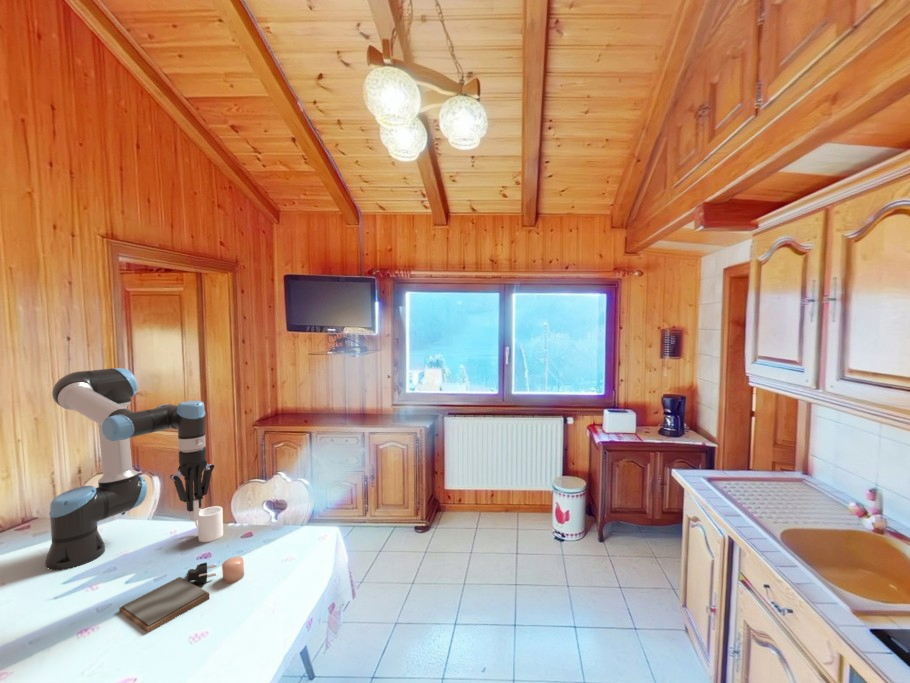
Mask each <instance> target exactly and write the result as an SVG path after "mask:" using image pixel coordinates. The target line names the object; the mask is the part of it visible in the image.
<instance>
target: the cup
mask: <svg viewBox="0 0 910 683" xmlns="http://www.w3.org/2000/svg"><path fill="white" fill-rule="evenodd" d="M223 512H224V511H223V507H222V506H219V505H216V506H215V505H214V506H209V507H205V508H199V520H196V521H194V523H195V527H196V528H197V532H198V535H197V536H198V537H197V538H198V541H199V542H200V543H210V542H211V543H212V542H214V541H216V540H219V539H220V538H222V537H223V536H224V517H223V516H224V513H223Z"/></svg>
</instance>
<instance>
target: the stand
mask: <svg viewBox="0 0 910 683" xmlns="http://www.w3.org/2000/svg"><path fill="white" fill-rule="evenodd" d="M208 600H210V593H209V592H208V591H206V590H204V589H203V588H201V587H199V586H197V585H196V584H194V583H192V582H191V581H190V582H188V579H185V578H184V577H182V576H179V577H176V578H175V579H173V580H170V581H168V582H166V583H165V584H162V585H160V586H158V587H157V588H155V589H152V590H151V591H149V592H147V593H145V594H143V595H141V596H139V597H137V598H135V599H132V600H131V601H129V602H128V603H127V602H126V603H125V604H123V605H122V606H120V607H119V613H120V614H122V615H123V616H125V617H126V618H127V619H129V620H130V621H131V622H132V623H134V624H135V625H136V626H137V627H138V628H140V629H142V630H143V631H144V632H145V633H147V634H149V633H150V632H152V631H155V630H156V629H158V628H160V627H162V626H163V625H165V624H167V623H170V622H171V621H172V620H174V619H176V618H178V617H180V616H181V615H183V614H185V613H187V612H189V611H190V610H192V609H194V608H196V607H197V606H199V605H201V604H203V603H205V602H206V601H208ZM188 610H189V611H188ZM179 615H180V616H179ZM177 616H178V617H177ZM175 617H176V618H175ZM161 625H162V626H161Z"/></svg>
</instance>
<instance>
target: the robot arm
mask: <svg viewBox="0 0 910 683" xmlns="http://www.w3.org/2000/svg"><path fill="white" fill-rule="evenodd" d="M138 388H139V387H138V382H137V379H136V377H135V375H134V374H133V373H132V371H130V370H129V369H127V368H123V367H119V368H117V367H116V368H115V367H112V368H103V369H94V370H82V371H75V372H71V373H68V374H66V375H64V376H63V377H61V378H60V379H59V380H57V381H56V383H55V384H54V385H53V387H52V392H51V393H52V399H53V400H54V402H55V403H56V404H57V405H58V406H60V407H62V408H63V409H65V410H70V411H76V412H77V413H79V414H80V415H82V416H85V417H86V418H88V419H89V420H91V421H93V422H95V423H96V424H97V425H98V436H99V445H100V447H99V448H100V458H101V467H102V476H101V477H100V478H99V479H98V481H97V484H98V486H97V487H95V486H94V485H84V486H81V487H74V488H71V489H69V490H66V491H65V492H62V493H60V494H58V495H56V497H55V498H53V499H52V500H51V502H50V505H49V506H50V508H49V518H50V534H51V544H50V547H49V550H48V553H47V555H46V557H45V561H44V562H45V563H44V564H45V568H46V567H47V568H49V569H52V570H51V571H63V570H62V569H64V570H69V569H68V568H70V569H74V568H77V566H78V567H80V566H85V565H86V564H88V563H89V564H90V563H92V562H93V561H95V560H97V559H99V558H100V557H101V556H103V555H104V553H105V552H106V545H105V544H106V543H105V542H104V539H103V537H102V536H101V534H100V533H99V531H98V522H100V521H103V520H106V519H108V518H111V517H114V516H116V515H119V514H122V513H124V512H129V511H131V510H133V509H135V508H137V507H139V506H140V505H142V504H143V502H144V501H145V500H146V497H147V494H148V485H147V482H146V480H145V477H143V476H142V475H139V472H138V471H137V470H135V469H133V461H132V460H133V459H132V452H131V438H136V437H139V436H143V435H147V434H152V433H158V432H160V431H161V432H162V431H166V430H172V429H173V430H177V438H178V440H177V441H178V443H177V444H178V446H177V447H178V450H179V451H178V463H179V465H178V469H177V471H176V472H175V473H174V474H171V475H170V476H169V479H170V480H171V481H173V483H174V486H175V489H176V493H177V495H178V498H179V501H181V502H183V503H186V511H187V512H189V520H191V521H193V522H195V521H196V520H197V521H198V520H199V509H202V500H203V499H204V496H207V495H208V491H209V486H210V481H211V477H212V472H213V470H214V469H215V465H214V464H211V463H208V461H207V460H206V458H207V448H206V444H207V443H206V410H205V403H204V402H203V401H201V400H188V401H181V402H180V403H178V404H176V405H175V404H171V403H170V404H160V405H159V406H157V407H156V408H151V409H145V410H144V409H143V410H139V411H133V410H131V409H129V408H128V406H129V405H130V404H131V403H132V398H133V397H135V396H136V394H138V392H137V391H138ZM181 475H182V476H181ZM182 477H183V478H184V481H185V482H184V483H185V484H184V483H183V480H182ZM184 486H185V487H184ZM73 567H74V568H73ZM47 568H46V569H47ZM49 569H48V570H49Z"/></svg>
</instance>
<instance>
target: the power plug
mask: <svg viewBox="0 0 910 683" xmlns="http://www.w3.org/2000/svg"><path fill="white" fill-rule="evenodd" d="M216 567H217V564H212V565H208V563H207V562H203V563H199V564H197V565H196V568H195V569H194V568H190V569H189V570H188V571H187V581H188V582H190V583H191V581H195V582H196V584H197V585H201V584H206V583H207V581H208V578H211V577H215V576H217V573H216V572H215V573H210V574H208V570H209V569H213V568H216Z"/></svg>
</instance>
